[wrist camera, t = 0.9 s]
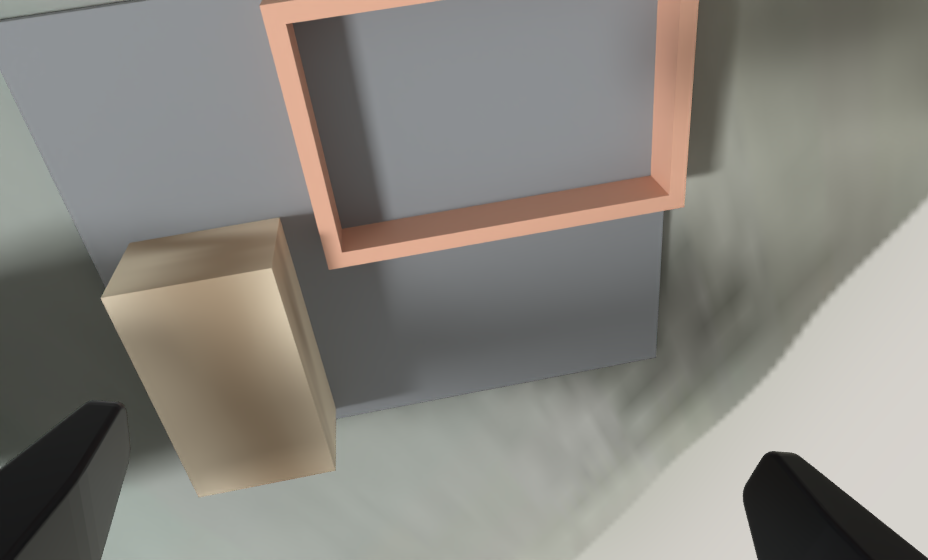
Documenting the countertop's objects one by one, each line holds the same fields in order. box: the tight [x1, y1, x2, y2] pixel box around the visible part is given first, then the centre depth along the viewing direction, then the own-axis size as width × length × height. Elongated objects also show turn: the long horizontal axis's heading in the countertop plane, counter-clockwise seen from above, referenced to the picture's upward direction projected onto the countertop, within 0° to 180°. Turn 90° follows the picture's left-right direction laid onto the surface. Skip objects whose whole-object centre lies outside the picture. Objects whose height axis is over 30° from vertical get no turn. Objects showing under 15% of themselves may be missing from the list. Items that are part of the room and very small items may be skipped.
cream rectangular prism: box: [101, 217, 336, 497], centre depth 22 cm, size 4×8×3 cm, turn 7°
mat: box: [0, 0, 664, 419], centre depth 22 cm, size 18×15×1 cm
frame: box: [259, 0, 699, 270], centre depth 19 cm, size 11×8×2 cm
